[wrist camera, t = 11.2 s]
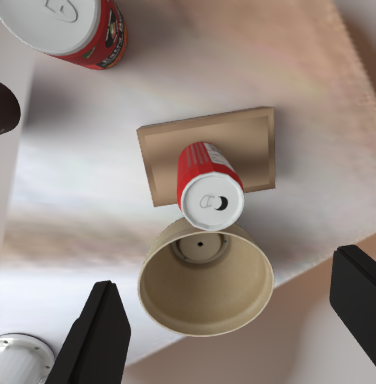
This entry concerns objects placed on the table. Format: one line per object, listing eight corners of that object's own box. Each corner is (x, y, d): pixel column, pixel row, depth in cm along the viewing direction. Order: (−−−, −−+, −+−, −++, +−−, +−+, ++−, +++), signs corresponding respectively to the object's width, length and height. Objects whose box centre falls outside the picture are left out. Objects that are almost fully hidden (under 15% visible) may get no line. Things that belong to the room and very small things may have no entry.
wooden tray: (264, 178, 34) (275, 188, 30) (156, 195, 34) (154, 207, 31) (262, 106, 30) (274, 107, 27) (141, 126, 31) (136, 130, 27)
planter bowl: (132, 256, 38) (115, 312, 28) (179, 173, 33) (179, 206, 23) (214, 291, 42) (226, 353, 32) (269, 221, 37) (303, 268, 27)
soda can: (173, 179, 29) (169, 228, 18) (183, 135, 27) (185, 162, 16) (215, 188, 30) (236, 242, 19) (228, 146, 28) (260, 179, 17)
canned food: (121, 80, 29) (88, 69, 19) (54, 56, 28) (-20, 30, 17) (136, 8, 26) (108, -50, 16) (63, -22, 25) (-18, -105, 15)
